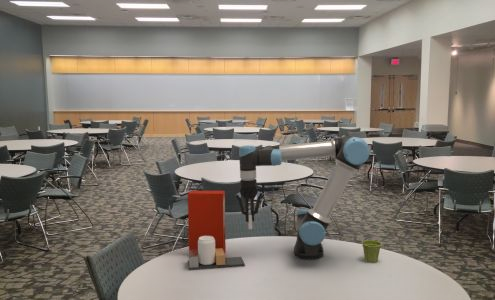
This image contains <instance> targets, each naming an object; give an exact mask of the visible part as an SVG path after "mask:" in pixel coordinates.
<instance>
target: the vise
mask: <svg viewBox="0 0 495 300" xmlns="http://www.w3.org/2000/svg"><path fill="white" fill-rule="evenodd" d="M245 264H246V263H245V262H244V260H243V257H242V256H234V257H232V256H231V257H225V265H216V262H215V263H213V264H211V265H202V264H200V263H199V262H198V252H197V250H189V249H188V260H187V265H188V266H187V267H188V271H197V270H198V271H199V270H213V269H226V268H243V267H246V265H245Z"/></svg>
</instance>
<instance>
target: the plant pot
mask: <svg viewBox="0 0 495 300" xmlns="http://www.w3.org/2000/svg"><path fill="white" fill-rule="evenodd" d="M361 245H362V248H363V256H364V257H363V258H364V261H365V262H368V263H377V262H378V261H379V255H380V252H381V251H380V250H381V248H382V245H383V243H382V242H380V241H378V240H374V239H369V240H368V239H367V240H363V241H361Z"/></svg>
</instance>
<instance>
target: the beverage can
mask: <svg viewBox="0 0 495 300" xmlns="http://www.w3.org/2000/svg"><path fill="white" fill-rule="evenodd" d="M198 262H199V263H200V264H202V265H211V264H213V263H215V239H214V237H213V236H201V237H199V240H198Z"/></svg>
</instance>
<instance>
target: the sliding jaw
mask: <svg viewBox="0 0 495 300" xmlns="http://www.w3.org/2000/svg"><path fill="white" fill-rule="evenodd" d="M225 258H226V253H225V254H224V251H223V248H218V249H215V262H216V265H225Z"/></svg>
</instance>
